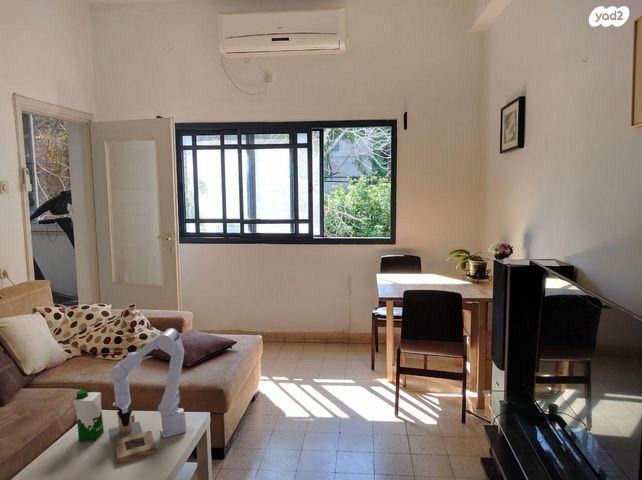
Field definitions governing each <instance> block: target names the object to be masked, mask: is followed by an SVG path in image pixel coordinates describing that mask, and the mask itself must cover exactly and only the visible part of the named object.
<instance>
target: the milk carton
mask: <svg viewBox="0 0 642 480" xmlns="http://www.w3.org/2000/svg"><path fill="white" fill-rule="evenodd" d="M73 405H74V408H75V412H76V414H75V415H76V422H77V423H76V424H77V437H78V442H96V441H97V440H98V439H99V438H100V437H101V436H102V435H103V434H104V421H103V412H102V392H97V391H93V392H91V391H90V392H88V390H87V389H81V390H78V391H77V392H76V397H75V399H74V400H73Z"/></svg>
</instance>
